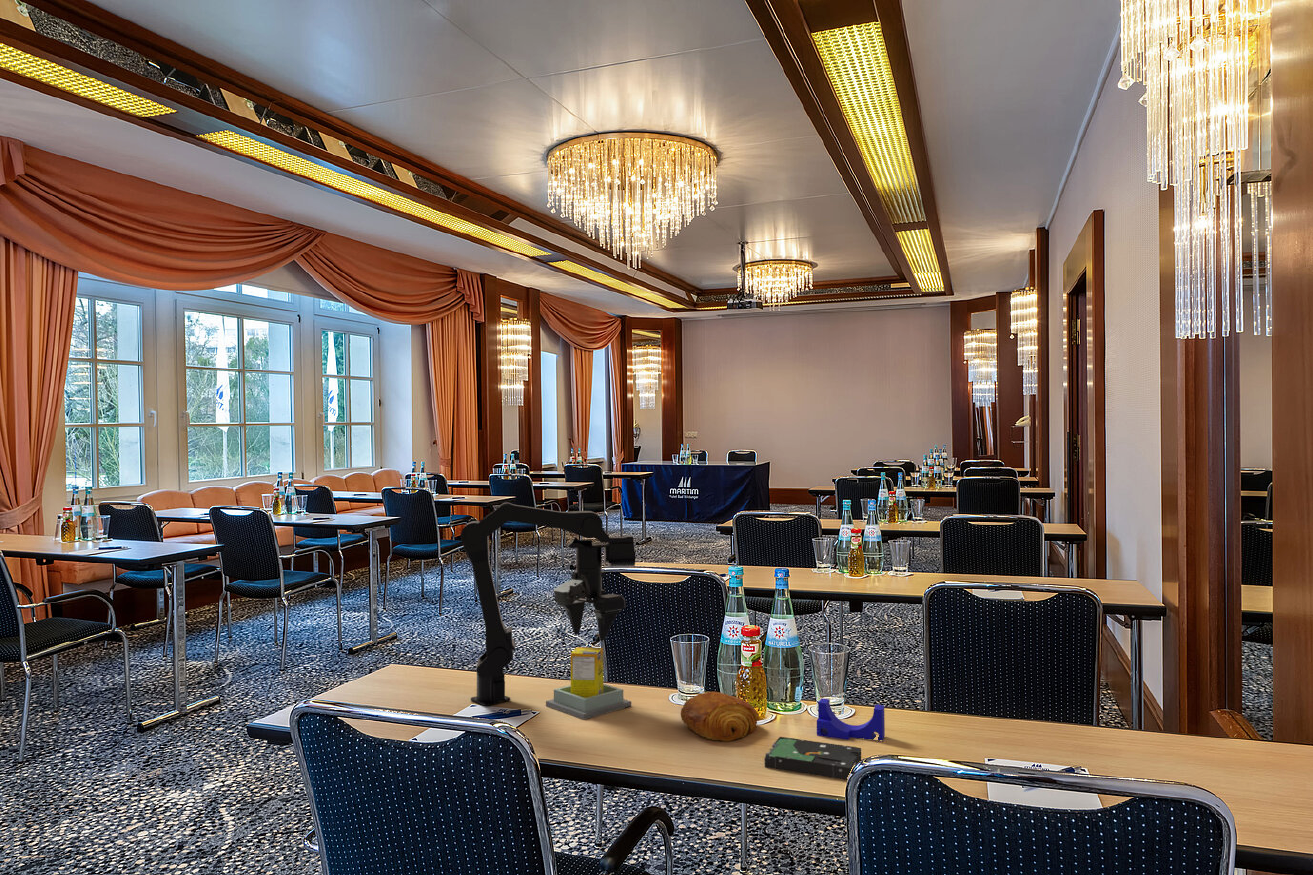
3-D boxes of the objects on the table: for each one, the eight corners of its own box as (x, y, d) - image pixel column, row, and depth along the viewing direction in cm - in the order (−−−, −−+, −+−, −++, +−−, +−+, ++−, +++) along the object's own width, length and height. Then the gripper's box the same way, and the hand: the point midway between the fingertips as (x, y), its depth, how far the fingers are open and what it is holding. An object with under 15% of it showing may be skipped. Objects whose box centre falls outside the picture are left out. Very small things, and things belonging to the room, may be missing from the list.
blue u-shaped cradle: (816, 736, 155) (816, 704, 155) (821, 729, 159) (821, 698, 159) (881, 744, 150) (880, 712, 151) (884, 737, 154) (884, 705, 155)
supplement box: (603, 697, 177) (603, 647, 177) (597, 705, 171) (597, 653, 171) (577, 696, 178) (577, 646, 178) (570, 704, 172) (570, 652, 172)
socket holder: (545, 705, 174) (545, 689, 174) (592, 693, 183) (592, 677, 183) (583, 719, 165) (583, 702, 165) (631, 706, 174) (631, 689, 174)
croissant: (700, 758, 150) (701, 716, 149) (671, 720, 164) (672, 682, 163) (770, 746, 154) (772, 706, 153) (737, 711, 169) (738, 674, 168)
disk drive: (861, 763, 143) (779, 750, 148) (861, 747, 143) (779, 734, 148) (851, 784, 133) (763, 770, 139) (851, 767, 133) (763, 753, 139)
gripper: (535, 566, 184) (535, 636, 183) (586, 575, 170) (586, 650, 170) (574, 562, 191) (574, 629, 191) (626, 570, 178) (626, 641, 177)
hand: (589, 637), depth 182 cm, fingers open, 9 cm apart
